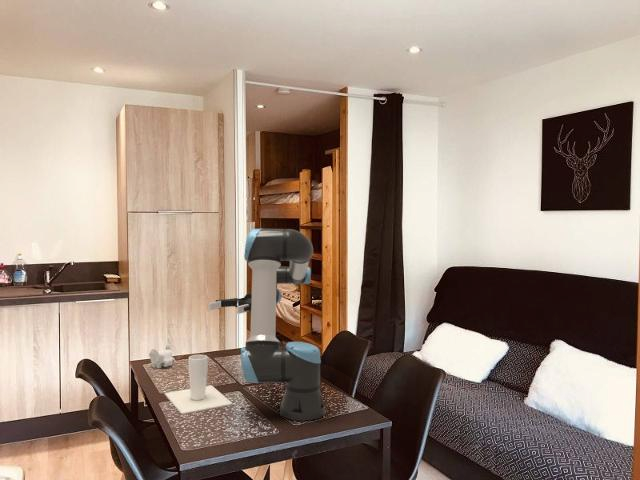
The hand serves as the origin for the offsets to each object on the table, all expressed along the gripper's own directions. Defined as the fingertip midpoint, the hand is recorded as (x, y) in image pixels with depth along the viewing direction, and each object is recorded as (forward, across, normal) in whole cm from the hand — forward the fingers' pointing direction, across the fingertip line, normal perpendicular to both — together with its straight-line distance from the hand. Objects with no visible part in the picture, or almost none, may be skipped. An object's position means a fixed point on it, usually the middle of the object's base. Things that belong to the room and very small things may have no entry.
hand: (223, 308), depth 190 cm
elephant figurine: (-9, +40, -31) cm, 52 cm away
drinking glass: (+14, 0, -31) cm, 34 cm away
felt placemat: (+14, 0, -31) cm, 34 cm away
